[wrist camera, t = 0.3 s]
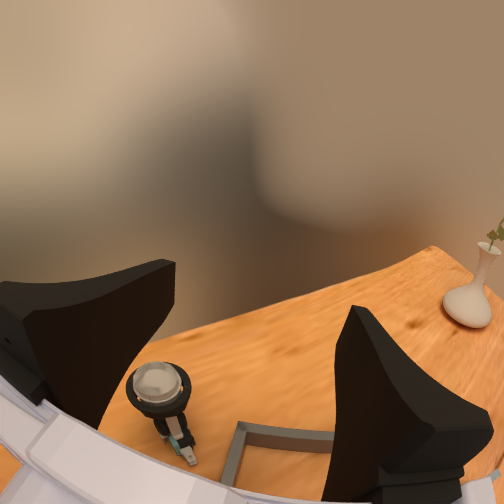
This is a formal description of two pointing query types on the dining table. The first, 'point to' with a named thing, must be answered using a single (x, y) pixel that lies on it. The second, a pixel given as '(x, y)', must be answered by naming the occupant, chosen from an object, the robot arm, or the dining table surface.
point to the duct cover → (494, 475)
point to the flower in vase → (474, 289)
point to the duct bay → (272, 444)
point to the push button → (164, 402)
